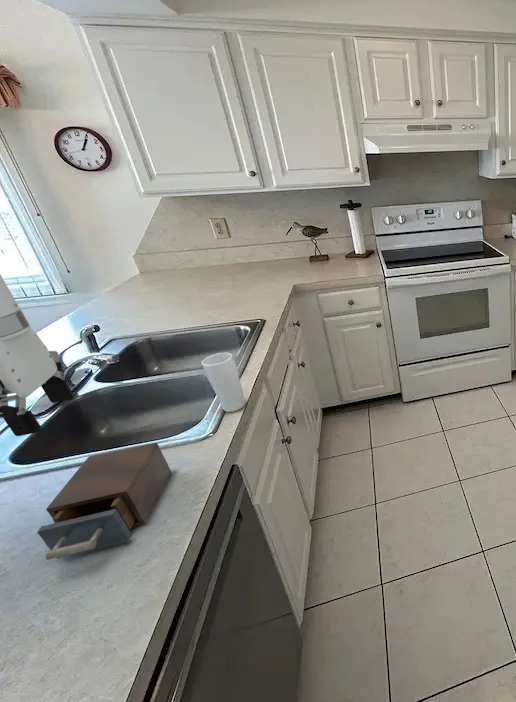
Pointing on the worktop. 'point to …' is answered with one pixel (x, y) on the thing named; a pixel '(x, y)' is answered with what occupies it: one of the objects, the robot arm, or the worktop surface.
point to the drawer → (88, 527)
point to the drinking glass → (224, 380)
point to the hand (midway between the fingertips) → (47, 415)
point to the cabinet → (118, 480)
